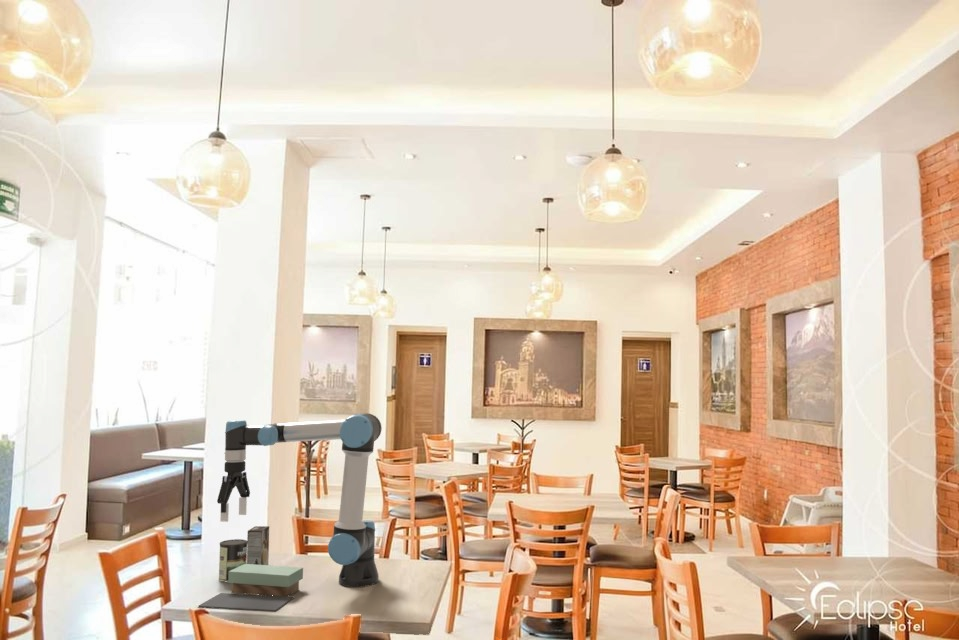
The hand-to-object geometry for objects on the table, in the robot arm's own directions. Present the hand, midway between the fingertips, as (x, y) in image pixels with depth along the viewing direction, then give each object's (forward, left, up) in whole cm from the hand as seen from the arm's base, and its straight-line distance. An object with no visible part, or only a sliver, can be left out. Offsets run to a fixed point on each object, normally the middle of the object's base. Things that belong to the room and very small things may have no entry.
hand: (233, 518), depth 263 cm
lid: (-15, +3, -22) cm, 26 cm away
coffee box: (+3, -27, -26) cm, 37 cm away
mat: (-15, +17, -25) cm, 34 cm away
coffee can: (+5, -10, -26) cm, 28 cm away
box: (-15, +3, -26) cm, 30 cm away
